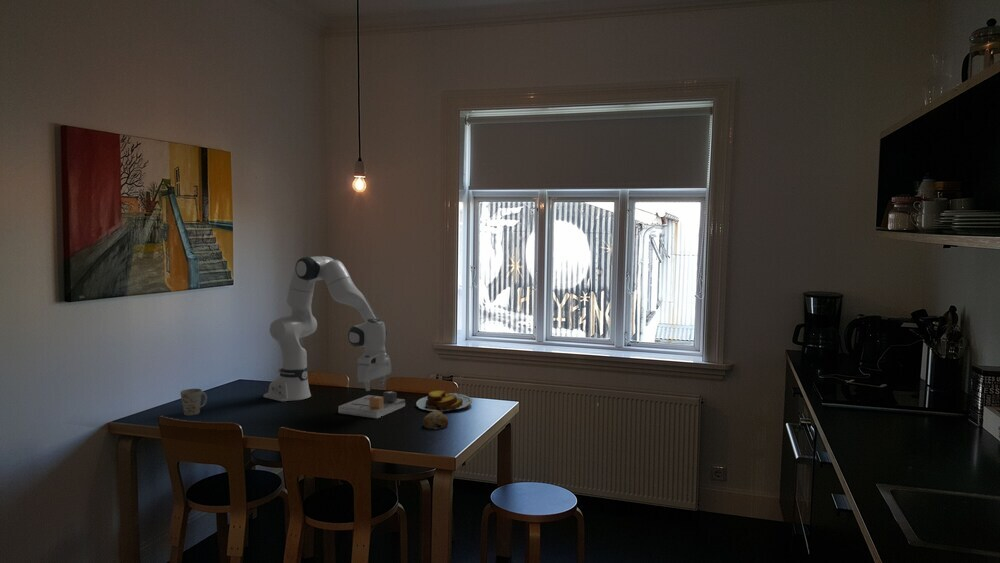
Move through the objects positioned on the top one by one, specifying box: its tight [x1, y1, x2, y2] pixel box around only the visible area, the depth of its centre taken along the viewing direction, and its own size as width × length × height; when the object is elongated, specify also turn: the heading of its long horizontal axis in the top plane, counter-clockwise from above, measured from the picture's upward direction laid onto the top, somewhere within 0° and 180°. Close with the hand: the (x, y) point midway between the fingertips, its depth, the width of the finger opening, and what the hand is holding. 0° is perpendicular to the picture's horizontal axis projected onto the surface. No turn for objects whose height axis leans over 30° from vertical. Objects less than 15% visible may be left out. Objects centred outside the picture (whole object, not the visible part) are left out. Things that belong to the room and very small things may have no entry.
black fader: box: [382, 390, 398, 403], centre depth 295 cm, size 5×3×4 cm, turn 66°
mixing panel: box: [337, 394, 406, 419], centre depth 294 cm, size 20×22×3 cm
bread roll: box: [422, 410, 449, 430], centre depth 269 cm, size 10×10×8 cm
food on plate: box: [415, 390, 473, 412], centre depth 300 cm, size 25×25×7 cm
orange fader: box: [369, 395, 383, 408], centre depth 287 cm, size 5×3×4 cm, turn 66°
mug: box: [180, 388, 208, 416], centre depth 288 cm, size 8×13×10 cm, turn 160°
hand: (374, 388), depth 286 cm, fingers open, 8 cm apart
